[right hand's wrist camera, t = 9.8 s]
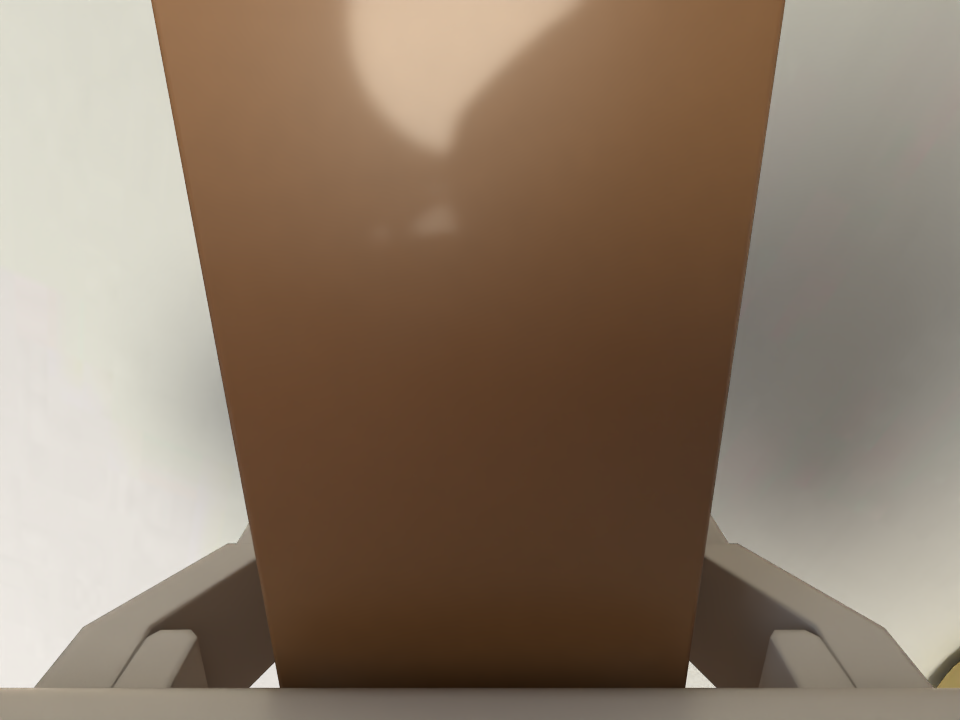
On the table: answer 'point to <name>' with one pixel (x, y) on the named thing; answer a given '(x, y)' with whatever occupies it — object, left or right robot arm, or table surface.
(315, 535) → the beam
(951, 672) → the toy gun
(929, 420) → the table surface
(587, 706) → the right robot arm
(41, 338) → the table surface
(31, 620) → the table surface
